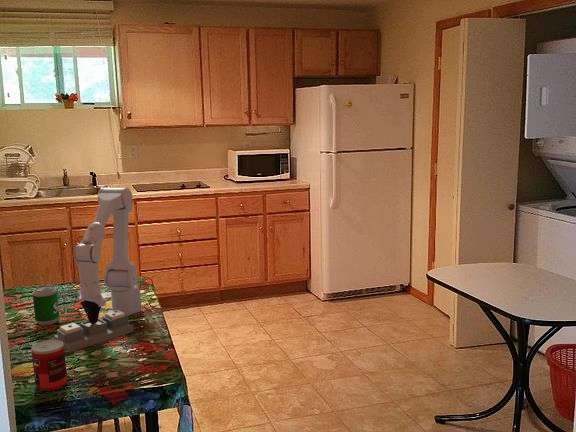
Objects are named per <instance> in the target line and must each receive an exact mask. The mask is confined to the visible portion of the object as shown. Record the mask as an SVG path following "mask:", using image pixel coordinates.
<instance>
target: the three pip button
mask: <svg viewBox="0 0 576 432" xmlns="http://www.w3.org/2000/svg"><path fill="white" fill-rule="evenodd" d="M99 324H102V323H101V322H99V321H98V322H97V323H94V324H90V323H87V324H85V325H87V326H88V327H92V326H95V325H99Z"/></svg>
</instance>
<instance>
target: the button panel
mask: <svg viewBox="0 0 576 432" xmlns="http://www.w3.org/2000/svg"><path fill="white" fill-rule="evenodd" d="M98 321H99V322H101V323H102V324H99V325H95V326H92V327H88V326H87V325H85V324H87V323H89V320H88V319H87V320H85V321H82V322H80V327H81V330H79V331H76V332H72V333H69V334H65V333H63V332H61V331H60V328H59V329H57V330H56V332H57V334H54V335H53V340H59V341H62V342H63V343H64V350H67V351H68V352H69V353H72V352H75V351H78V350H79V351H80V350H82V349H84V348H87V347H91V346H93V345H97V344H99V343H103V342H106V341H108V340H112V339H115V338H118V337H120V336H124V335H127V334H131V333H133V332H134V325H133V324H130V323H129V315H125V317H122V318H118V319H115V320H110V319H108V318H106V316H105V315H103V316H102V318H99V317H98Z"/></svg>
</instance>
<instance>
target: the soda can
mask: <svg viewBox="0 0 576 432" xmlns="http://www.w3.org/2000/svg"><path fill="white" fill-rule="evenodd" d="M32 300H33V301H32V302H33V309H34V310H33V311H34V321H35V323H36V324H38V325H39V326H51V325H54V324H56V323H57V322H58V321H59V319H60V310H59V309H60V308H59V299H58V289H57V288H56V287H54V286H53V285H47V284H45V285H41V286H37V287H35V288H34V290H33V291H32Z"/></svg>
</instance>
